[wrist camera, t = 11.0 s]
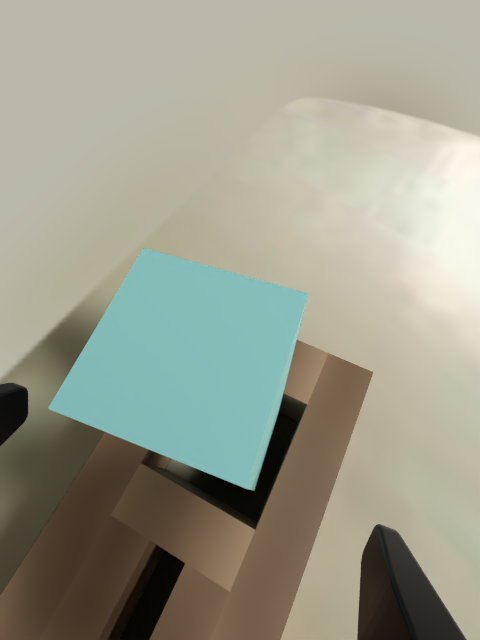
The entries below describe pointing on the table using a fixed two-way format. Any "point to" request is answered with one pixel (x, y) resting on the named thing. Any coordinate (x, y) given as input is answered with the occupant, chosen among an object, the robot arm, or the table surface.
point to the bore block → (188, 531)
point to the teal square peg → (189, 365)
